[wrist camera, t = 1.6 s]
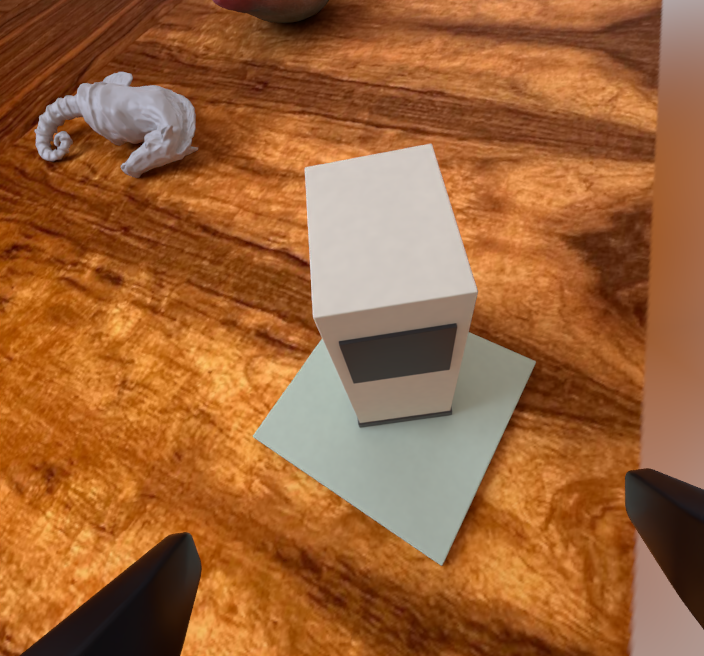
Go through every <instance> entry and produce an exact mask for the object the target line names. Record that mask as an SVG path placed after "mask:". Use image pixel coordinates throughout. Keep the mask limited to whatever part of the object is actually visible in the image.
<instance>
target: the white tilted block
mask: <svg viewBox="0 0 704 656" xmlns="http://www.w3.org/2000/svg"><path fill="white" fill-rule="evenodd" d="M305 181H306V199H307V217H308V235H309V253H310V271H311V288H312V306H313V318H314V321H315V323H316V325H317V327H318V330H319V332H320V334H321V336H322V339H323V341H324V343H325V346H326V348H327V350H328V352H329V355H330V357H331V359H332V361H333V364H334V366H335V368H336V370H337V373H338V375H339V377H340V379H341V382H342V384H343V386H344V388H345V391H346V393H347V395H348V397H349V400H350V402H351V404H352V406H353V409H354V411H355V413H356V415H357V419H358V425H359V427H360V428H361V427H369V426H376V425H383V424H391V423H398V422H405V421H412V420H420V419H427V418H434V417H442V416H449V415H452V407H451V405H452V401H453V396H454V392H455V388H456V384H457V379H458V375H459V371H460V366H461V362H462V358H463V354H464V349H465V345H466V341H467V336H468V332H469V328H470V324H471V319H472V315H473V311H474V306H475V302H476V298H477V294H478V290H477V287H476V284H475V280H474V277H473V274H472V271H471V268H470V264H469V261H468V258H467V255H466V252H465V248H464V245H463V242H462V239H461V236H460V232H459V229H458V226H457V223H456V220H455V217H454V213H453V210H452V207H451V204H450V201H449V197H448V194H447V191H446V188H445V185H444V181H443V178H442V175H441V172H440V169H439V165H438V162H437V159H436V156H435V153H434V150H433V146H432V144H427V145H422V146H416V147H411V148H406V149H400V150H395V151H390V152H385V153H379V154H374V155H369V156H363V157H358V158H353V159H347V160H342V161H337V162H332V163H326V164H321V165H316V166H310V167H306V168H305Z"/></svg>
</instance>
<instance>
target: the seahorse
mask: <svg viewBox="0 0 704 656" xmlns="http://www.w3.org/2000/svg"><path fill="white" fill-rule="evenodd" d="M132 79H133V77H132V75H131V74H129V73H125V72H118V73H115V74H112V75H110V76H108V77H106V78H105V79H104V80H103V82H99V83H94V84H88V83H83V84H81V85H80V87H79V88H78V91H77V95H75V96H69V95H67V96H65V97H64V99H62V98H58V99H57V100H56V102H55V103H53V104H52V105H48V106H47V107H46V112H45V113H44V114H43V115H41V116H40V117H39V123H38V128H37V129H35V133H36V147H37V149H38V152H39V154H40V156H41V157H42V158H43V159H45V160H47V161H52V162H54V161H55V160H58V159H60V160H61V159H62V158H63V156H64V155H65V154H66V153H69V148H70V145H72V144H73V140H72V139H71V138H70V136H69V135H68V134H67V133H66V132H65V131H61V132H59V133H58V134H57V135H55V139H54V144H55V145H56V146H58V147H57V148H58V150H53V151H52V149H51V144H50V141H53V134H54V133H57V127H58V126H61V125H64V122H65V120H66V119H68V120H71V119H74V118H76V117H77V118H78V117H84V119H85V121H86V122H87V123H88V124H89V125H90V127H91V128H92V129H93V130H94V131H96V132H97V133H99V134H100V135H102V136H104V137H105V138H106V139H109V140H110V141H111V142H112V143H114V144H116V145H123V144H124V143H126V142H130V143H133V144H137V143H141V142H144V143H143V144H142V145H141V147H139V148H138V149H137V150H136V151H134V152H132V154H131V155H130V157H129V159H128V160H127V162H126V163H123V164H122V165H121V169H122V170H123V172H124V173H125V174H127V175H130V176H132V177H135V178H139V177H140V176H141V174H142V173H144V172H147V171H149V170H151V169H153V168H155V167H160V166H164V165H165V164H168V163H171V162H174V161H177V160H181V159H183V157H184V156H186V155H189V154H191V153H193V152H195V151H197V150H198V148H197V147H191V143H192V138H193V137H194V132H195V129H196V128H195V123H196V121H195V117H196V115H195V112H194V111H195V108H194V107H193V105H192V104H191V102H190V101H189V100H188V99H187V98H184V96H182V95H180V94H176V93H174V92H173V91H171V90H167V89H164V88H162V87H159V86H155V85H153V86H143V87H129V85H130V84H131V81H132ZM60 141H61V144H60V146H59V142H60Z"/></svg>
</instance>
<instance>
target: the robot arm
mask: <svg viewBox="0 0 704 656" xmlns="http://www.w3.org/2000/svg"><path fill="white" fill-rule="evenodd" d="M625 507H626V511H627V514H628V516H629V518H630V520H631V522H632V523H633V525H634V527H635V528H636V530H637V531H638V533H639V534H640V536H641V538H642V539H643V541H644V542H645V544H646V545H647V547H648V549H649V550H650V552H651V553H652V555H653V556H654V558H655V560H656V561H657V563H658V564H659V566H660V567H661V569H662V571H663V572H664V574H665V575H666V577H667V579H668V580H669V582H670V583H671V585H672V586H673V588H674V589H675V590H676V592H677V594H678V595H679V597H680V598H681V600H682V601H683V602H684V604H685V605H686V606H687V608H688V609H689V611H690V612H691V613H692V615H693V616H694V617H695V619H696V620H697V621H698V622H699V624H700V625H701V626H702V628H703V629H704V490H703V489H701V488H698V487H696V486H693V485H690V484H688V483H686V482H683V481H681V480H678V479H676V478H673V477H670V476H668V475H665V474H663V473H660V472H658V471H655V470H653V469H648V468H646V469H638V470H631V471H629V472H627V473H626V476H625ZM201 570H202V567H201V561H200V558H199V555H198V552H197V549H196V546H195V543H194V541H193V538H192V536H191V534H190V533H187V532H184V533H176V534H171V535H169V536H167V537H166V538H165V539H163V540H162V541H161V542H160V543H158V544H157V545H156V546H155V547H153V548H152V549H151V550H150V551H148V552H147V553H146V554H145V555H143V556H142V557H141V558H140V559H139V560H137V561H136V562H135V563H134V564H132V565H131V566H130V567H129V568H127V569H126V570H125V571H124V572H122V573H121V574H120V575H119V576H117V577H116V578H115V579H114V580H113V581H111V582H110V583H109V584H108V585H106V586H105V587H104V588H103V589H101V590H100V591H99V592H98V593H96V594H95V595H94V596H93V597H91V598H90V599H89V600H88V601H87V602H85V603H84V604H83V605H82V606H80V607H79V608H78V609H77V610H75V611H74V612H73V613H72V614H70V615H69V616H68V617H67V618H65V619H64V620H63V621H62V622H61V623H59V624H58V625H57V626H56V627H54V628H53V629H52V630H51V631H49V632H48V633H47V634H46V635H44V636H43V637H42V638H41V639H39V640H38V641H37V642H36V643H35V644H33V645H32V646H31V647H30V648H28V649H27V650H26V651H25V652H23V653H22V654H21V655H20V656H180V655H181V651H182V648H183V644H184V640H185V636H186V632H187V628H188V624H189V620H190V617H191V613H192V609H193V605H194V601H195V597H196V593H197V589H198V585H199V581H200V577H201Z"/></svg>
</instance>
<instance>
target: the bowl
mask: <svg viewBox="0 0 704 656" xmlns="http://www.w3.org/2000/svg"><path fill="white" fill-rule="evenodd" d="M213 1H214V3H215V4H217V5H219V6H220V7H222V8H225V9H228V10H233V11H237V12H242V13H248V14H250V15H253V16H255V17H257V18H259V19H262V20H265V21H268V22H274V23H291V22H296V21H301V20H304V19H306V18H309V17H311V16H313V15H315V14H316V13H318V12H319V11H320V10H321V9H322V8H323V7H324V6H325V5H326V4H327V2H328V1H329V0H213Z"/></svg>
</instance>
